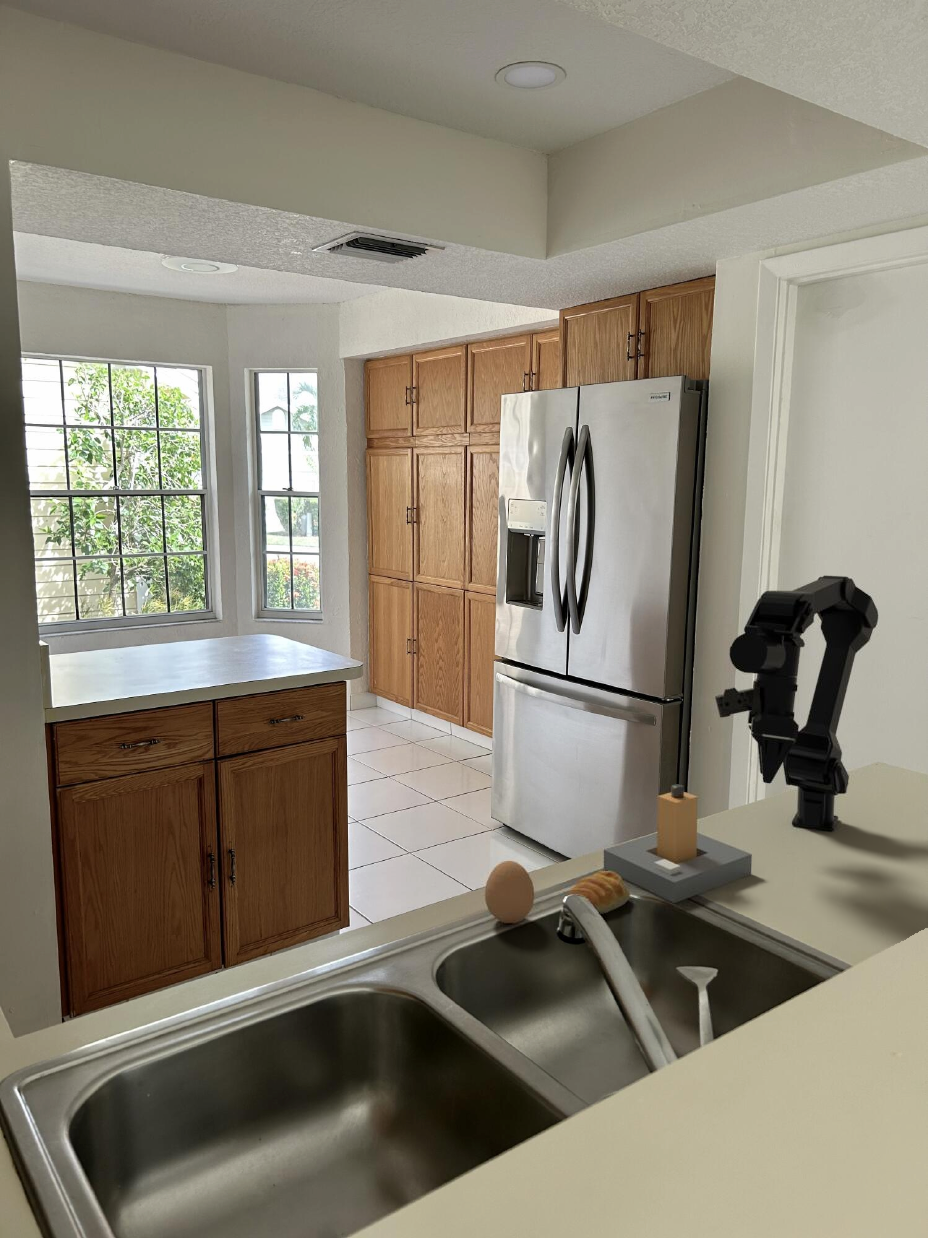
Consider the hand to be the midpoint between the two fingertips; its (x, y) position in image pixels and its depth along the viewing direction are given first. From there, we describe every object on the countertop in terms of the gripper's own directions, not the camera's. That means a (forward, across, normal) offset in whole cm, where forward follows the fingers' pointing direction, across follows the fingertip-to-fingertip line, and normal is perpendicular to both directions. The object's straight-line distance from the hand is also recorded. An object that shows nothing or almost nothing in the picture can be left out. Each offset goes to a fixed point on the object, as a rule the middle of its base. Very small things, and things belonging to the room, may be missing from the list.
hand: (765, 778), depth 136 cm
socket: (+15, +6, -11) cm, 19 cm away
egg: (+20, +26, -31) cm, 46 cm away
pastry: (+18, +19, -21) cm, 33 cm away
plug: (+15, +6, -11) cm, 19 cm away
